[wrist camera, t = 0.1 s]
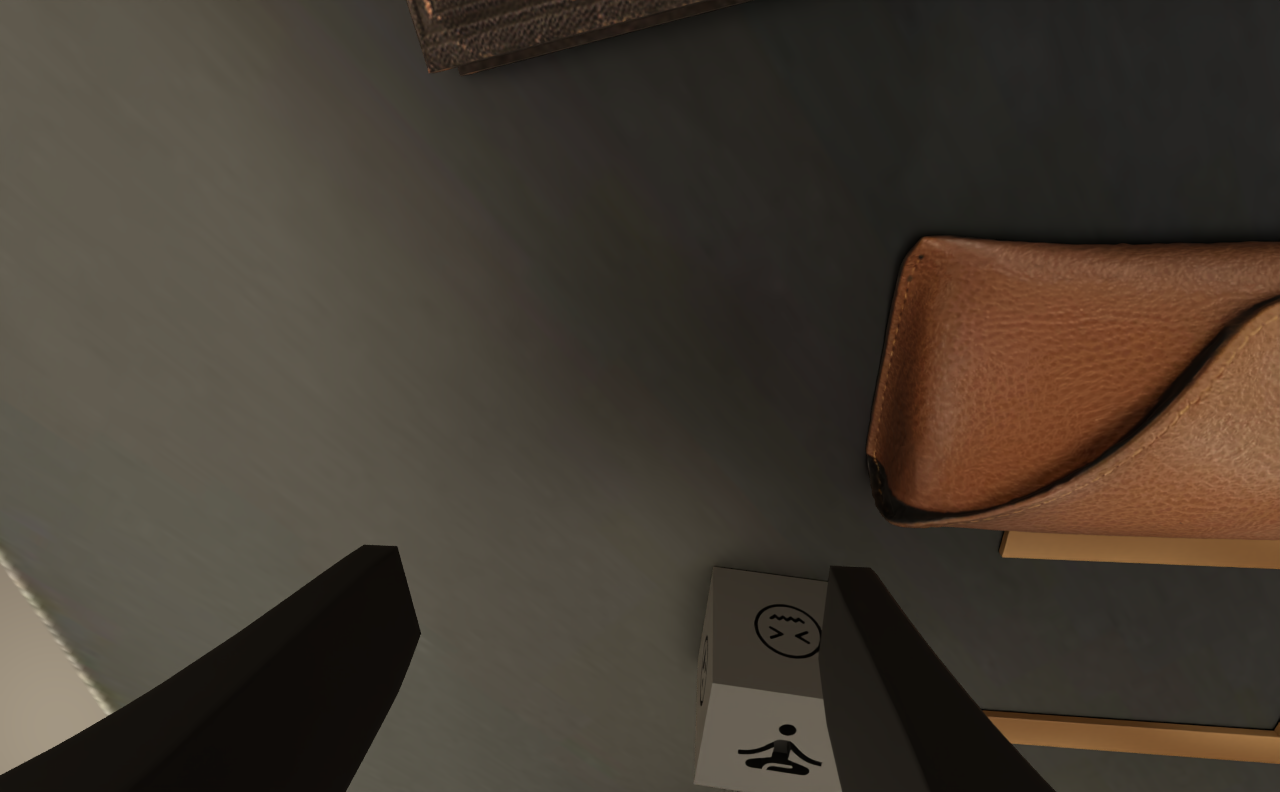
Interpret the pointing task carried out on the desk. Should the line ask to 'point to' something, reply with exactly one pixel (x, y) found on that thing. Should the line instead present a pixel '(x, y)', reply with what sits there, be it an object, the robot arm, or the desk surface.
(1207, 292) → the sunglasses case
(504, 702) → the desk surface
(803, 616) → the dice cube
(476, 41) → the hardcover book
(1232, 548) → the cork bay
